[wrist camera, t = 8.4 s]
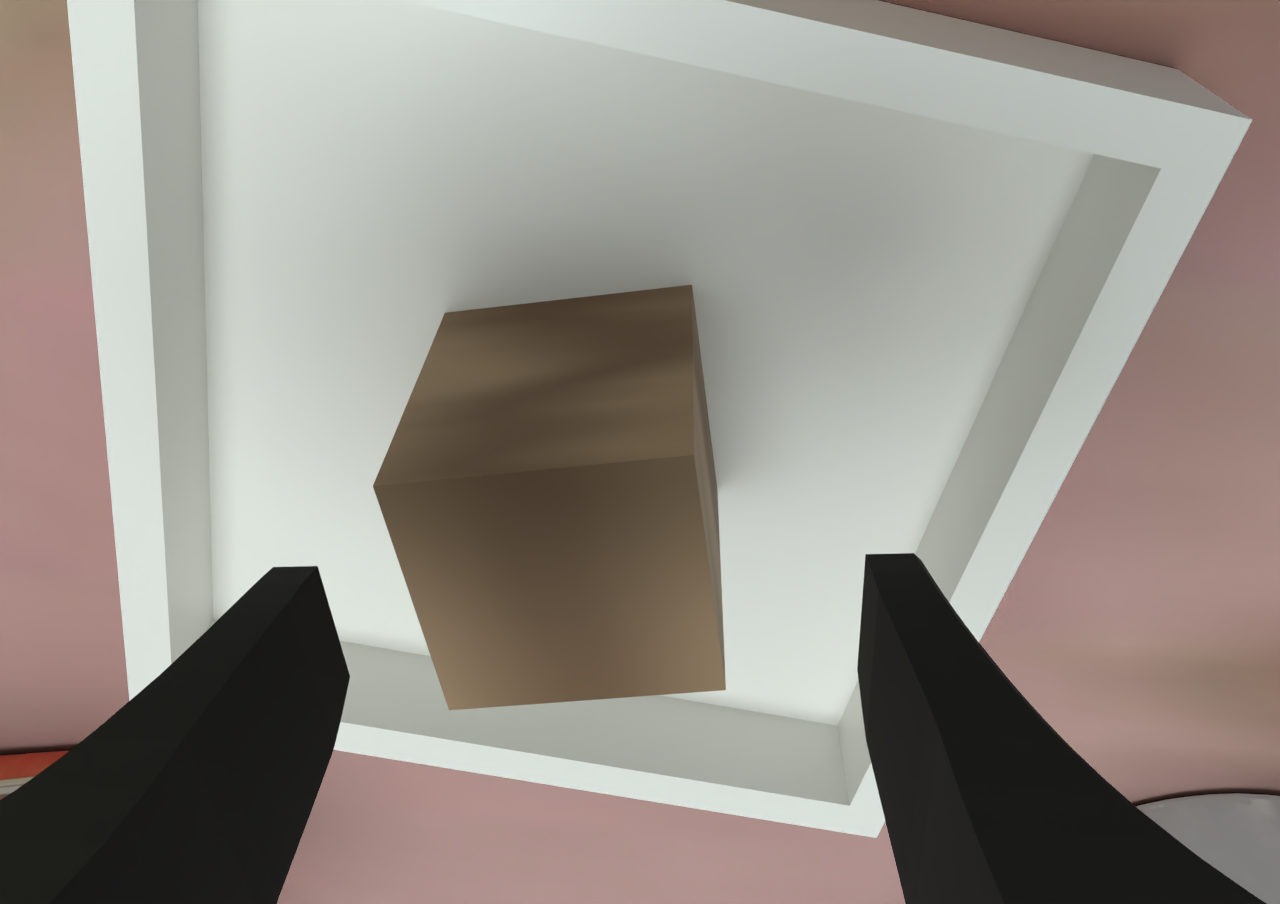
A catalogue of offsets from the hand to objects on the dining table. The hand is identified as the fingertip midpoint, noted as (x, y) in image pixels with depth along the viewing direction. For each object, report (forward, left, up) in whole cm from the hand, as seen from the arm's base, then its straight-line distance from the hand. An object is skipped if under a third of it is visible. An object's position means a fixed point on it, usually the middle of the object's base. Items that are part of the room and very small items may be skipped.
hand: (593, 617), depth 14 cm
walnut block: (0, +2, -9) cm, 9 cm away
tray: (0, +2, -9) cm, 10 cm away
